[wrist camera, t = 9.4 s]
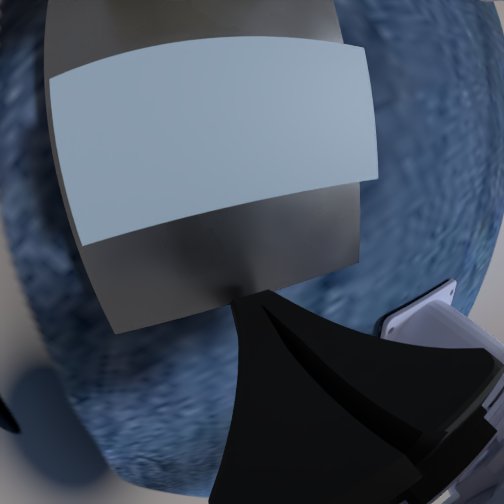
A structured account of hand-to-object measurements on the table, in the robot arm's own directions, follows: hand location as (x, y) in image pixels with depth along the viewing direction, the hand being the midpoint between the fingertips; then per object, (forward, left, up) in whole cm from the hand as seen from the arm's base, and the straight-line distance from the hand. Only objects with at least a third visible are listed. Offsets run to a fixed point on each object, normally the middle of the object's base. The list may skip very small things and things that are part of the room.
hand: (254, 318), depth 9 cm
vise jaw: (+6, 0, -1) cm, 6 cm away
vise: (+10, 0, -2) cm, 10 cm away
